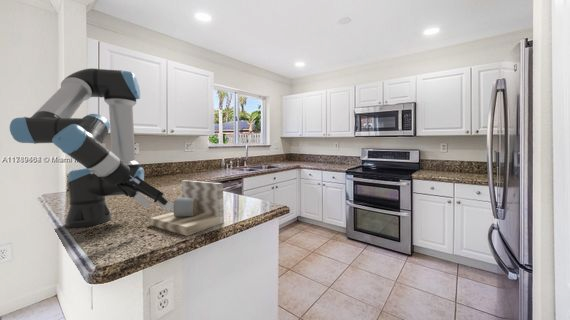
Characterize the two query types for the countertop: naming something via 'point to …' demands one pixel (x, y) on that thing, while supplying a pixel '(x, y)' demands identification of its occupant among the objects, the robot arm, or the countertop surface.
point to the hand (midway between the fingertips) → (159, 206)
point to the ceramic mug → (185, 207)
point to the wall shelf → (207, 211)
